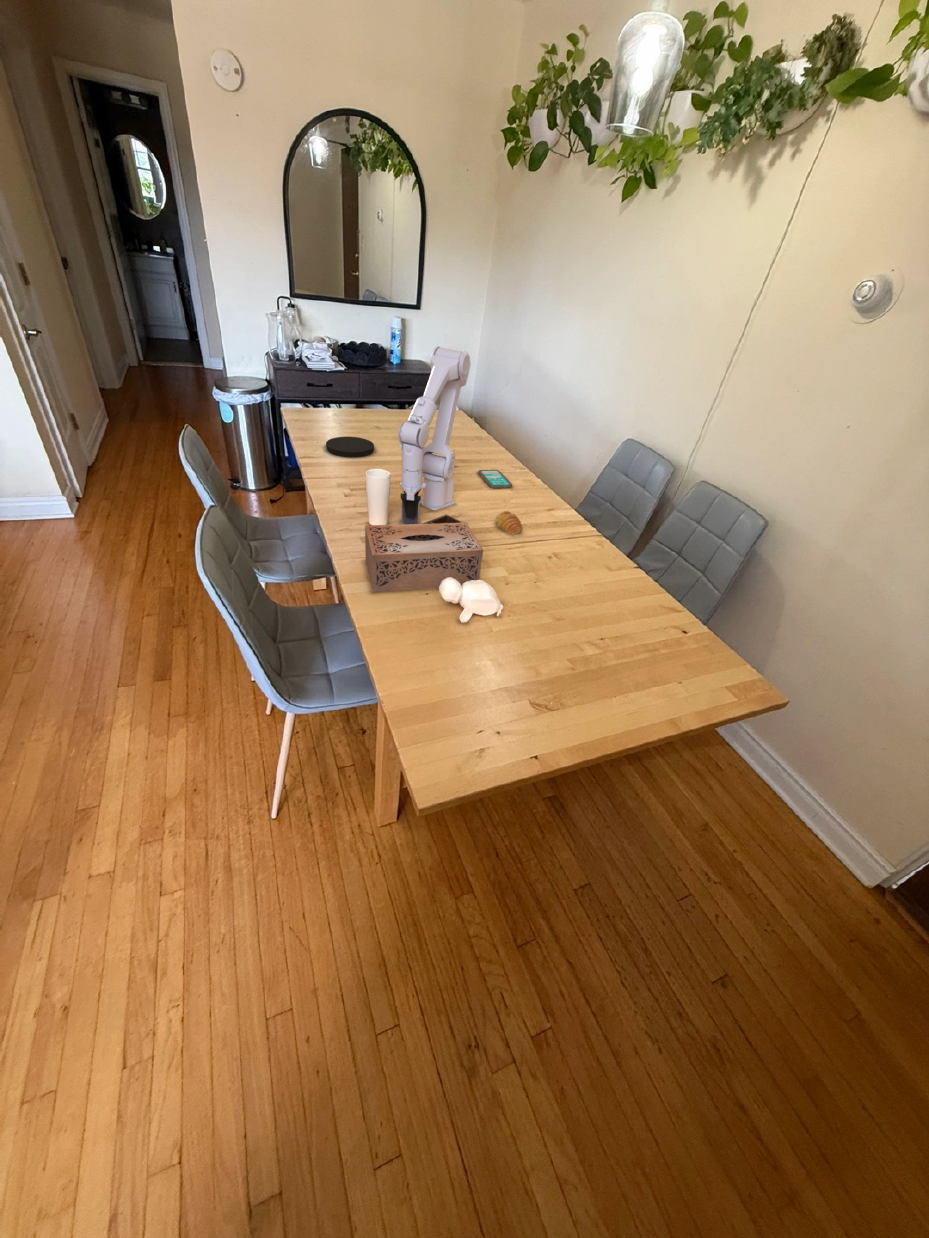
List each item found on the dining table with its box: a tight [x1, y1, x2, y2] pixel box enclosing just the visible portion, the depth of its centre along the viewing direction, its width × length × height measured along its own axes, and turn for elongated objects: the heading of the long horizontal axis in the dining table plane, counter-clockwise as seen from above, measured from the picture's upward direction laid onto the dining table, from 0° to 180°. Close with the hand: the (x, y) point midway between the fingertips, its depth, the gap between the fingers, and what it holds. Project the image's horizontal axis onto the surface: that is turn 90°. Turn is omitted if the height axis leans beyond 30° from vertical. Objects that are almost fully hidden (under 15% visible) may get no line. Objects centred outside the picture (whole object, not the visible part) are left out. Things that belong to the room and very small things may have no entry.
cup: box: [400, 494, 420, 524], centre depth 147 cm, size 5×5×8 cm
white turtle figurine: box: [438, 577, 504, 624], centre depth 114 cm, size 8×8×15 cm
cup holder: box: [421, 514, 464, 524], centre depth 144 cm, size 8×15×2 cm, turn 138°
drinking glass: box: [364, 468, 391, 525], centre depth 142 cm, size 7×7×15 cm
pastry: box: [495, 510, 523, 535], centre depth 152 cm, size 9×7×4 cm
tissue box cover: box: [364, 522, 484, 594], centre depth 124 cm, size 26×14×10 cm, turn 105°
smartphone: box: [478, 469, 513, 489], centre depth 183 cm, size 9×1×15 cm
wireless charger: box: [325, 436, 375, 459], centre depth 193 cm, size 18×18×2 cm
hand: (410, 513), depth 147 cm, fingers closed on cup, 5 cm apart
